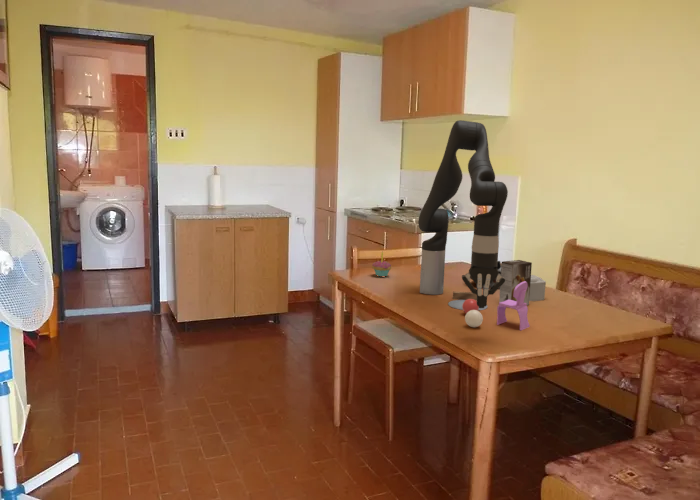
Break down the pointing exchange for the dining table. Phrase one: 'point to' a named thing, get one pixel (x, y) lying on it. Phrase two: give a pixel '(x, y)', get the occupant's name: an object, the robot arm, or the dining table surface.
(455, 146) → the robot arm
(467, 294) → the strip
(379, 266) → the cupcake
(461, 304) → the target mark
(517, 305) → the toy chair
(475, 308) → the red ball
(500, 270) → the lucky cat figurine
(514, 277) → the coffee box
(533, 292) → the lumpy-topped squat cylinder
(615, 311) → the dining table surface
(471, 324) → the cream ball
